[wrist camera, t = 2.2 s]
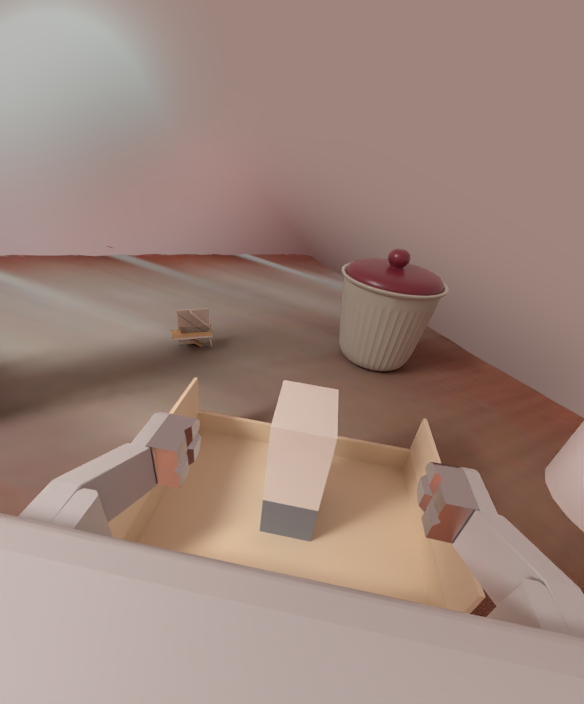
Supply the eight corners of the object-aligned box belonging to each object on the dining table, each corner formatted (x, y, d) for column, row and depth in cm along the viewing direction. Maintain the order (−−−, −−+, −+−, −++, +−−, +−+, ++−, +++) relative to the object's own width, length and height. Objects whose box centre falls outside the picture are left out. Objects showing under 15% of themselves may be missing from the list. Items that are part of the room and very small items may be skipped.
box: (310, 541, 30) (337, 438, 23) (259, 531, 31) (270, 426, 23) (315, 487, 35) (338, 389, 28) (271, 479, 36) (283, 380, 29)
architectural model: (213, 352, 59) (213, 316, 55) (174, 356, 56) (170, 319, 52) (210, 343, 61) (209, 308, 58) (172, 347, 59) (169, 310, 55)
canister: (307, 347, 63) (325, 239, 52) (363, 328, 74) (387, 234, 63) (381, 397, 52) (423, 272, 41) (434, 365, 63) (478, 259, 52)
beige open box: (440, 645, 25) (486, 597, 21) (116, 572, 27) (96, 514, 22) (404, 468, 40) (427, 419, 35) (197, 429, 42) (194, 377, 37)
